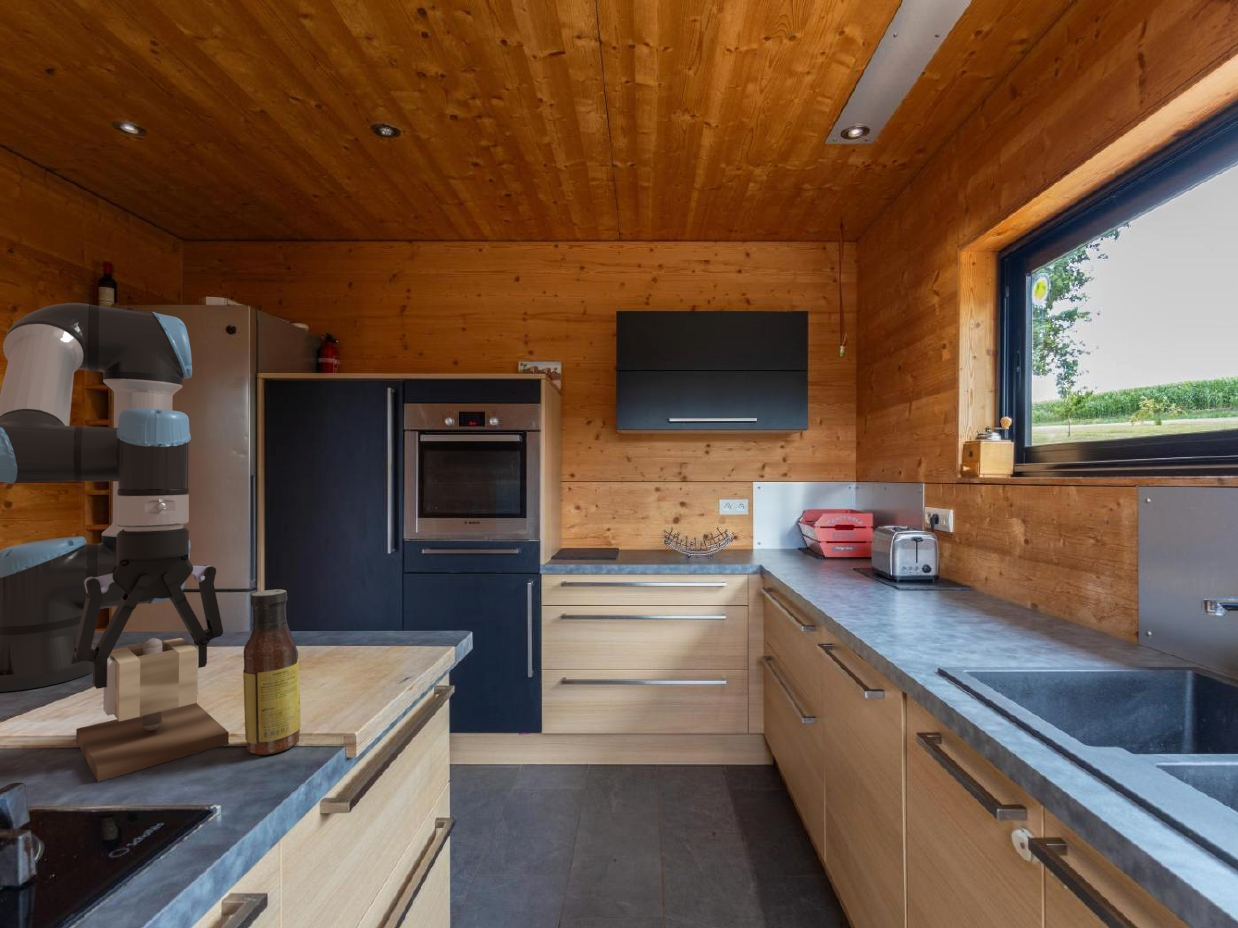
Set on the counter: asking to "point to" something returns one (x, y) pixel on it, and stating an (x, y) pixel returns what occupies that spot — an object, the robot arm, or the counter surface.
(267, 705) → the sauce bottle
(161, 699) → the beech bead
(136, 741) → the rod stand
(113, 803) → the counter surface
